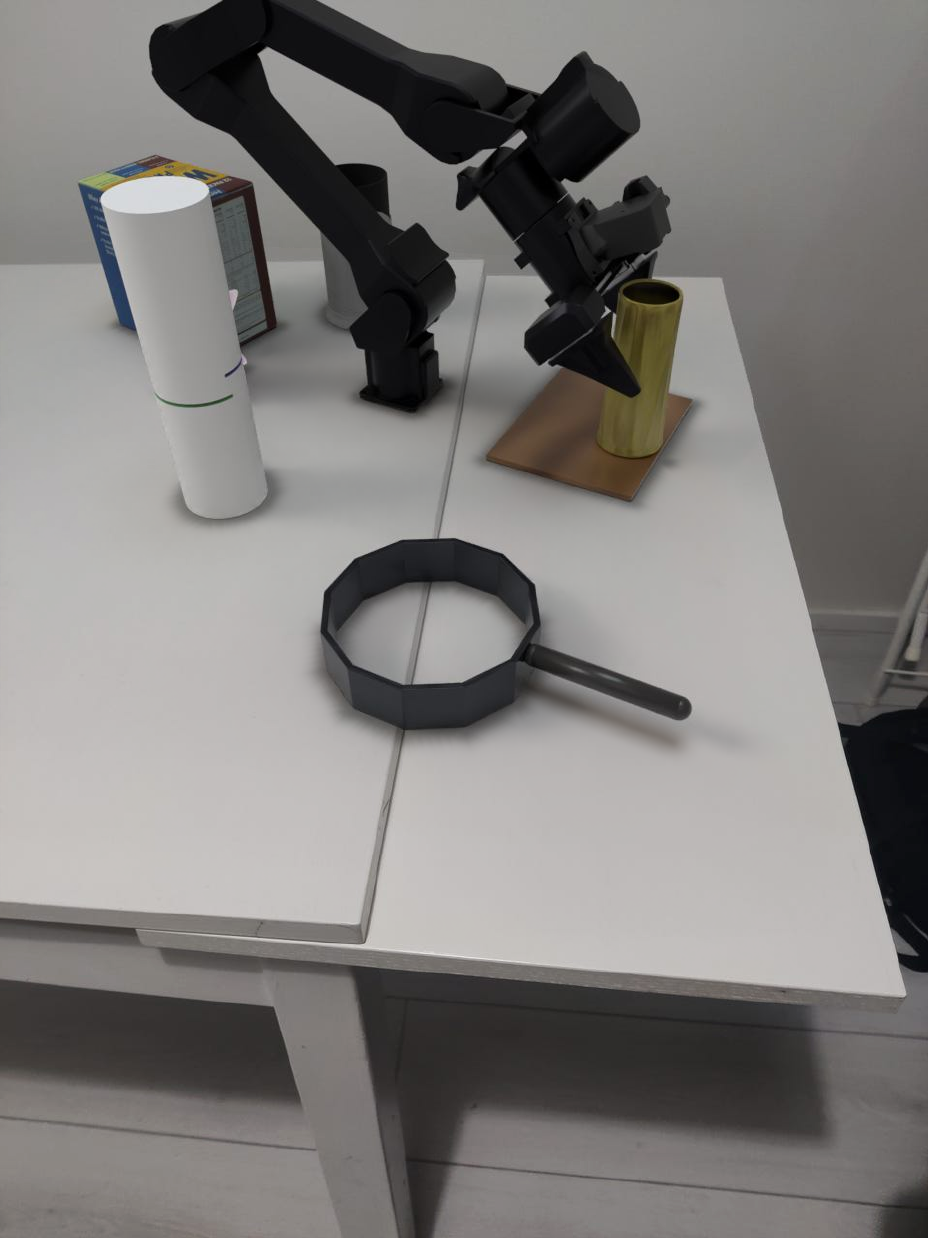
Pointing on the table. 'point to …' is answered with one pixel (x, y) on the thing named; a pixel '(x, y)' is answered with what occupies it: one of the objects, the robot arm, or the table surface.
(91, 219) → the protein box
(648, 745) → the table surface
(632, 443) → the vase
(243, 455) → the cylindrical container
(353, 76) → the robot arm
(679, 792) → the table surface
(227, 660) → the table surface
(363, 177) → the glass holder
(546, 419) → the wooden board
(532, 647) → the pan
